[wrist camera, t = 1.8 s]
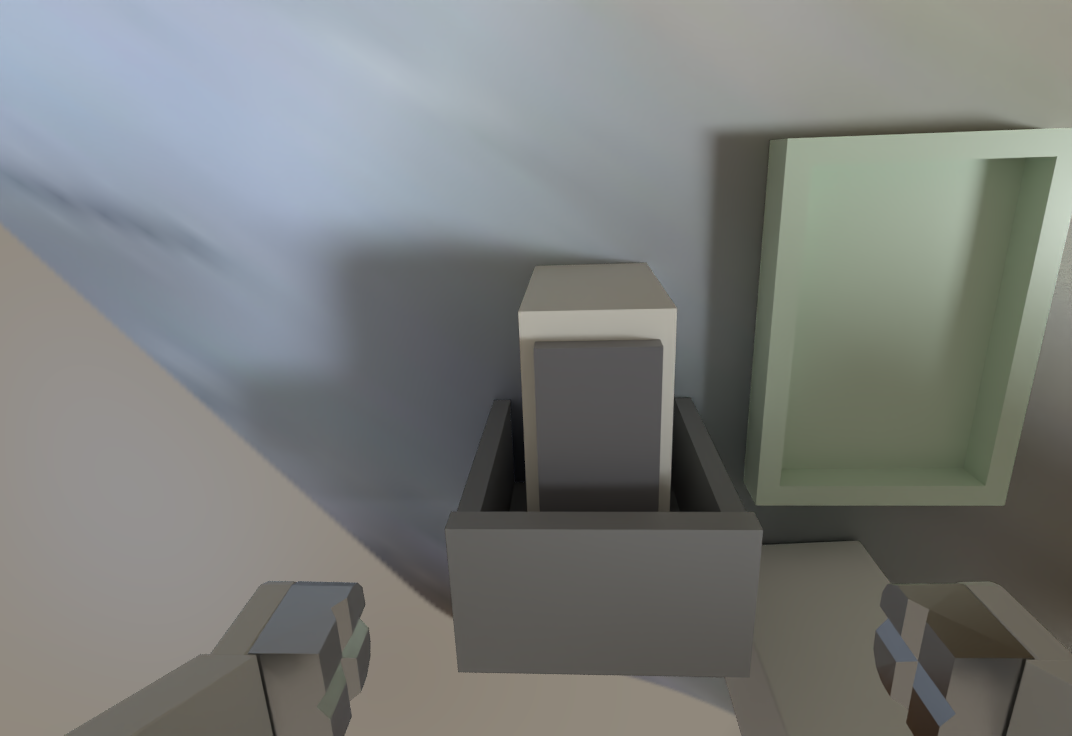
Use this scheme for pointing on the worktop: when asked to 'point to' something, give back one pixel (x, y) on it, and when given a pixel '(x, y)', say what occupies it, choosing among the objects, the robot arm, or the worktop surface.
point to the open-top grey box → (604, 571)
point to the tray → (902, 314)
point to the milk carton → (816, 646)
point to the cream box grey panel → (597, 388)
